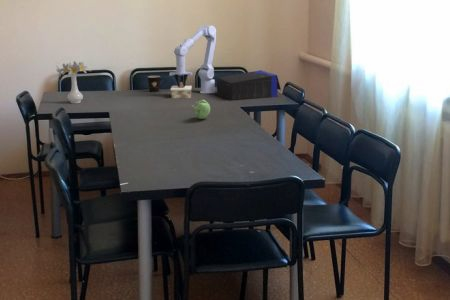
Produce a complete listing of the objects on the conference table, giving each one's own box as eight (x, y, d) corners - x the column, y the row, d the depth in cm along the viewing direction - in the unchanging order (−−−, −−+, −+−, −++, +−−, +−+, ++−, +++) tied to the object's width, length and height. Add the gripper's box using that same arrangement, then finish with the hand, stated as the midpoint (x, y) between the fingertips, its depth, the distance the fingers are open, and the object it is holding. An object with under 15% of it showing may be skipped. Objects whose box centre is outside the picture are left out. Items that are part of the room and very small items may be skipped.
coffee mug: (146, 92, 389) (145, 77, 387) (151, 89, 397) (150, 75, 395) (162, 92, 386) (161, 78, 383) (166, 90, 394) (166, 76, 391)
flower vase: (58, 101, 358) (55, 61, 352) (88, 99, 364) (85, 60, 357) (59, 105, 347) (56, 64, 340) (90, 103, 352) (88, 62, 345)
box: (191, 94, 380) (191, 87, 378) (190, 98, 368) (190, 90, 367) (172, 94, 379) (172, 87, 378) (171, 98, 368) (171, 90, 367)
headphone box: (281, 96, 372) (281, 74, 368) (230, 101, 359) (230, 78, 355) (264, 90, 394) (265, 69, 390) (216, 94, 381) (216, 72, 377)
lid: (191, 86, 379) (191, 80, 378) (191, 90, 366) (190, 83, 365) (172, 87, 379) (171, 80, 377) (170, 90, 366) (170, 83, 365)
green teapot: (187, 118, 313) (187, 98, 310) (206, 116, 317) (206, 96, 314) (195, 122, 302) (195, 102, 299) (215, 120, 307) (214, 100, 304)
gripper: (169, 66, 364) (169, 87, 368) (191, 66, 365) (192, 87, 368) (169, 64, 371) (170, 85, 375) (192, 64, 371) (192, 85, 375)
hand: (181, 86), depth 372 cm, fingers closed on lid, 3 cm apart
